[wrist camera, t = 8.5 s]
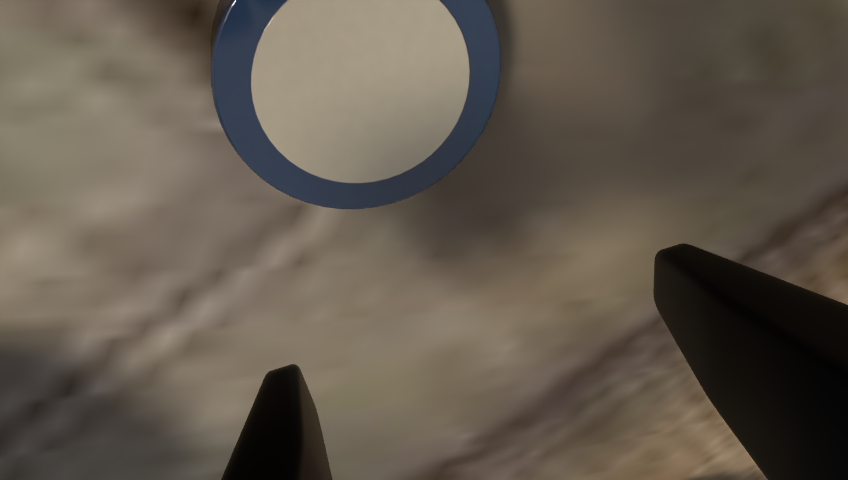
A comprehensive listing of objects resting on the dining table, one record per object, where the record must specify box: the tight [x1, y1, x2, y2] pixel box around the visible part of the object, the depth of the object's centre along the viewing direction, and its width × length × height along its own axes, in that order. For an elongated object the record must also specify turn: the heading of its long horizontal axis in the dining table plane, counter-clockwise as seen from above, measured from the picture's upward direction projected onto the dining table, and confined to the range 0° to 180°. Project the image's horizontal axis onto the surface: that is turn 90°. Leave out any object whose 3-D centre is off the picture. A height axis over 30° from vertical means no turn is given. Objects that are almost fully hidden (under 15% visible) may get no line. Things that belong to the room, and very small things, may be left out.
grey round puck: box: [211, 0, 501, 209], centre depth 18 cm, size 7×7×3 cm
